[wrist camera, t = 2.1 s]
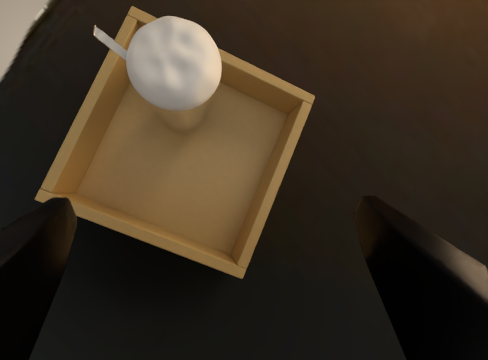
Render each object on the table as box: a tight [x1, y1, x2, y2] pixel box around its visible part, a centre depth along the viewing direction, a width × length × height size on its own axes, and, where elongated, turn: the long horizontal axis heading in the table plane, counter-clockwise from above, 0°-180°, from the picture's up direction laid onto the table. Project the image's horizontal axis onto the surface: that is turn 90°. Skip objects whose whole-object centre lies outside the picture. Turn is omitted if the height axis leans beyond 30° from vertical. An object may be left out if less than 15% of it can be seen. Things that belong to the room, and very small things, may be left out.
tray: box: [35, 6, 315, 279], centre depth 20 cm, size 13×13×4 cm
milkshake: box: [93, 16, 222, 132], centre depth 17 cm, size 5×5×10 cm
